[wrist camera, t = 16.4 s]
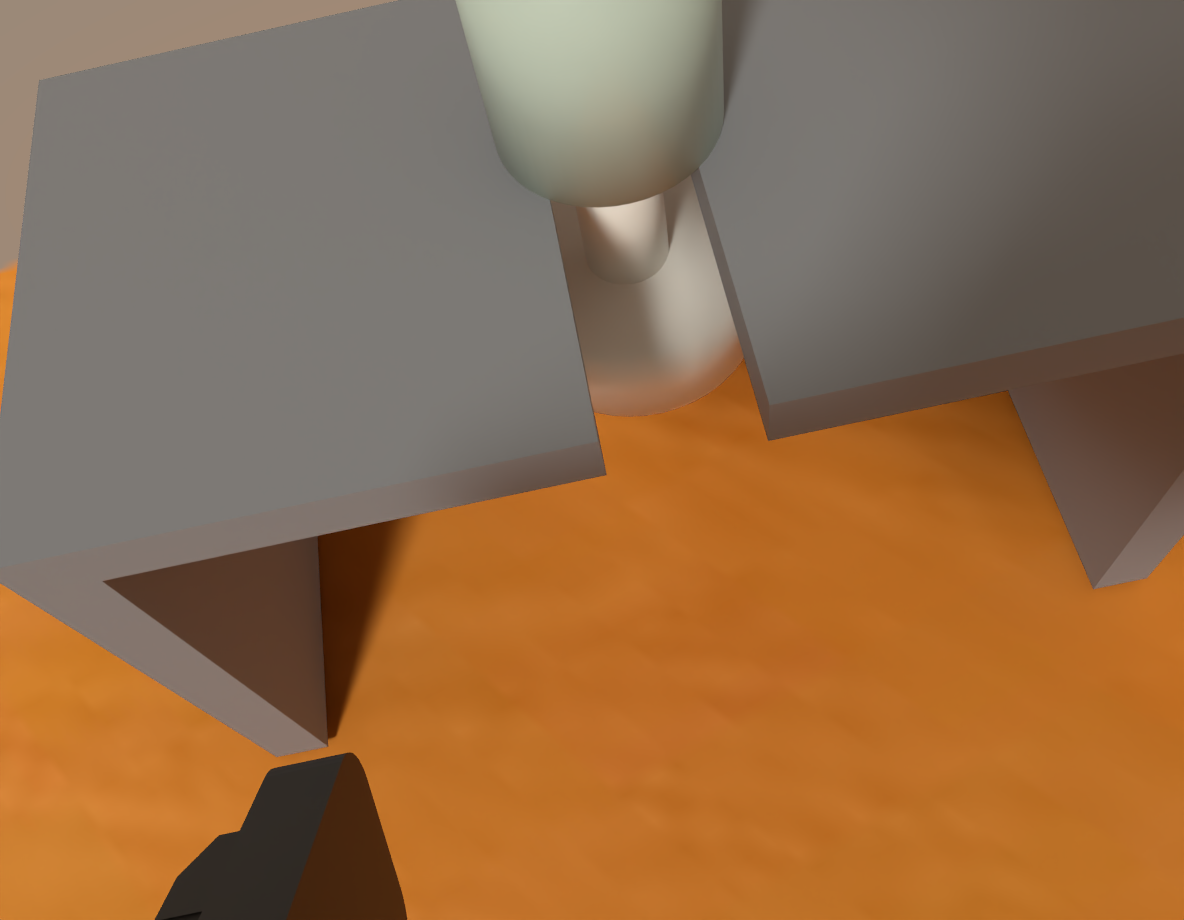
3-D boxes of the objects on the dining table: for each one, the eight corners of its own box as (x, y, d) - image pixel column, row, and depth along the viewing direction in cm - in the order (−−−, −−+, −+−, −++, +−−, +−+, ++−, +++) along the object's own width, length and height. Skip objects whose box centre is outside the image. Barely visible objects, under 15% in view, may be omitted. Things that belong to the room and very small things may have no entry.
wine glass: (538, 441, 21) (387, -8, 12) (501, 248, 24) (352, -245, 15) (786, 384, 21) (819, -109, 12) (723, 197, 24) (712, -332, 15)
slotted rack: (276, 757, 25) (-19, 571, 15) (267, 393, 30) (39, 80, 20) (1146, 578, 24) (1409, 270, 15) (990, 239, 29) (1111, -159, 20)
